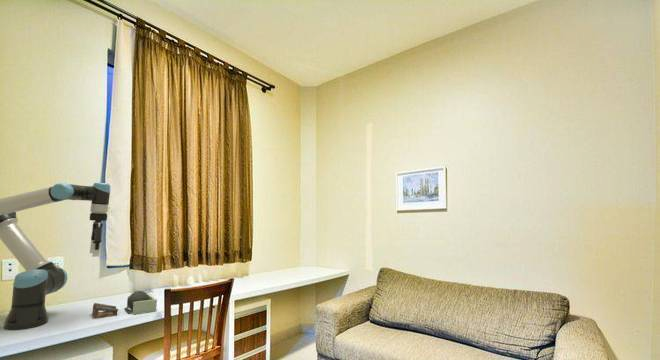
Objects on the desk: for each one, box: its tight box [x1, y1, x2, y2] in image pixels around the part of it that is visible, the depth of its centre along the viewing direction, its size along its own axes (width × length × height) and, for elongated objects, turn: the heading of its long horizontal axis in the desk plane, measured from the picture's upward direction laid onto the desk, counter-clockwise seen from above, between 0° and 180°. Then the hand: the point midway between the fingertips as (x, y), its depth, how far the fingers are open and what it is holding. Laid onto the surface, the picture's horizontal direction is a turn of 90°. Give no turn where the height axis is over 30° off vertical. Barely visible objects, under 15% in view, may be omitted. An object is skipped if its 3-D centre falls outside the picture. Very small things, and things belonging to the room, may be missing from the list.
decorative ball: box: [126, 290, 149, 311], centre depth 185 cm, size 10×10×10 cm
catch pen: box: [126, 293, 158, 316], centre depth 187 cm, size 11×15×6 cm
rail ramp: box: [91, 302, 119, 319], centre depth 176 cm, size 10×9×6 cm
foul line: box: [124, 306, 132, 315], centre depth 182 cm, size 1×11×1 cm, turn 40°
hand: (94, 254), depth 178 cm, fingers open, 13 cm apart
